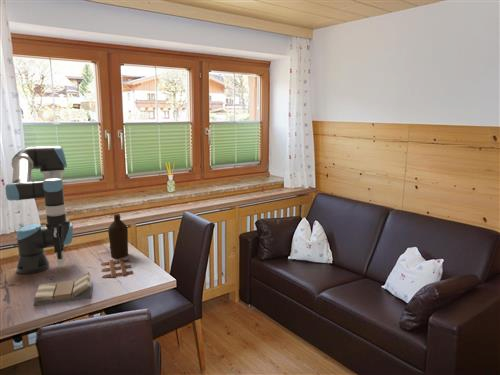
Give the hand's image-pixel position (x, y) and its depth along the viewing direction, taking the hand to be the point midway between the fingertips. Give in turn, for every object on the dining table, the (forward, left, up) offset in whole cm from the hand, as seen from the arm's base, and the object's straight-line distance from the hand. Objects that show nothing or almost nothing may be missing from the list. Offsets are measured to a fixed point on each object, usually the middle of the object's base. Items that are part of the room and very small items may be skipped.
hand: (61, 264), depth 173 cm
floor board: (-1, 0, -15) cm, 15 cm away
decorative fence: (-25, +23, -16) cm, 37 cm away
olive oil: (-45, +25, -15) cm, 53 cm away
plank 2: (-1, +8, -11) cm, 14 cm away
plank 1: (-1, -7, -13) cm, 15 cm away
